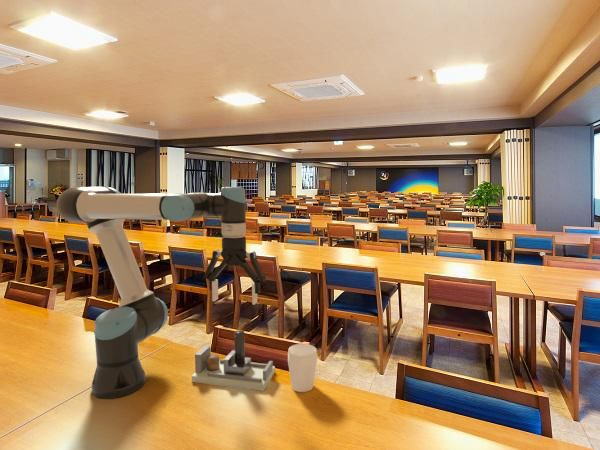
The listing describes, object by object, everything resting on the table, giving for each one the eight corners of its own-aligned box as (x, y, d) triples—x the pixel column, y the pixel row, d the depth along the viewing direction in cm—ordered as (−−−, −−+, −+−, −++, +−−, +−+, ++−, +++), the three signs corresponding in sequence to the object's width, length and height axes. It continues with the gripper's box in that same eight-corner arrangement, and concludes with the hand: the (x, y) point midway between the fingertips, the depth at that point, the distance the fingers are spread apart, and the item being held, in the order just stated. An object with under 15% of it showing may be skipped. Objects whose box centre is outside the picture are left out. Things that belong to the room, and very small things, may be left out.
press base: (191, 381, 120) (190, 357, 119) (209, 364, 132) (208, 342, 131) (263, 390, 115) (263, 365, 114) (274, 371, 127) (274, 349, 126)
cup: (314, 396, 112) (314, 357, 111) (284, 392, 114) (284, 354, 113) (318, 380, 121) (319, 344, 120) (291, 378, 123) (291, 342, 121)
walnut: (204, 370, 123) (204, 359, 123) (210, 365, 127) (210, 353, 127) (216, 372, 122) (215, 360, 122) (221, 366, 126) (221, 354, 126)
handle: (223, 374, 120) (222, 335, 119) (232, 364, 127) (231, 327, 126) (243, 376, 119) (242, 337, 117) (251, 366, 126) (250, 328, 124)
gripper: (191, 236, 118) (193, 302, 120) (267, 239, 112) (268, 308, 115) (203, 233, 125) (204, 295, 128) (275, 235, 120) (275, 301, 122)
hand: (234, 301), depth 121 cm, fingers open, 13 cm apart
